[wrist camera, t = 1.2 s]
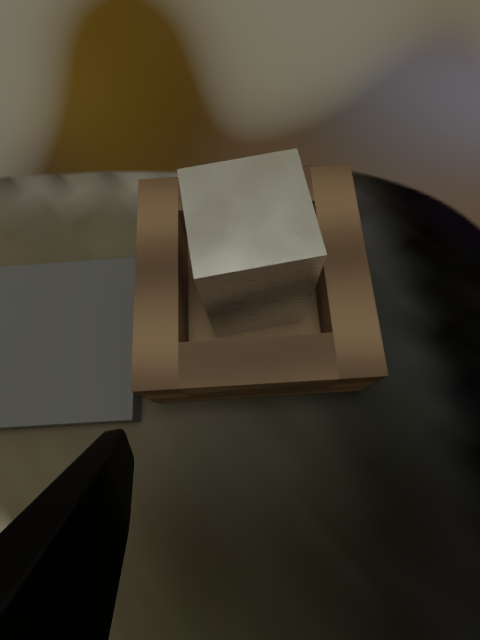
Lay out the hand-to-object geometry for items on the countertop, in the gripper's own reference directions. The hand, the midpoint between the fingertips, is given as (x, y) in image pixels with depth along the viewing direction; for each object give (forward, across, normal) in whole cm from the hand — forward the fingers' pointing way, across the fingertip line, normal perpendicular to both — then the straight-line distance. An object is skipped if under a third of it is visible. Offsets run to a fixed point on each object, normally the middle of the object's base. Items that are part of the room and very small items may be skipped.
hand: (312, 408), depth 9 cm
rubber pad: (+15, +12, +4) cm, 20 cm away
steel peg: (+14, 0, +2) cm, 14 cm away
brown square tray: (+15, 0, +3) cm, 16 cm away
